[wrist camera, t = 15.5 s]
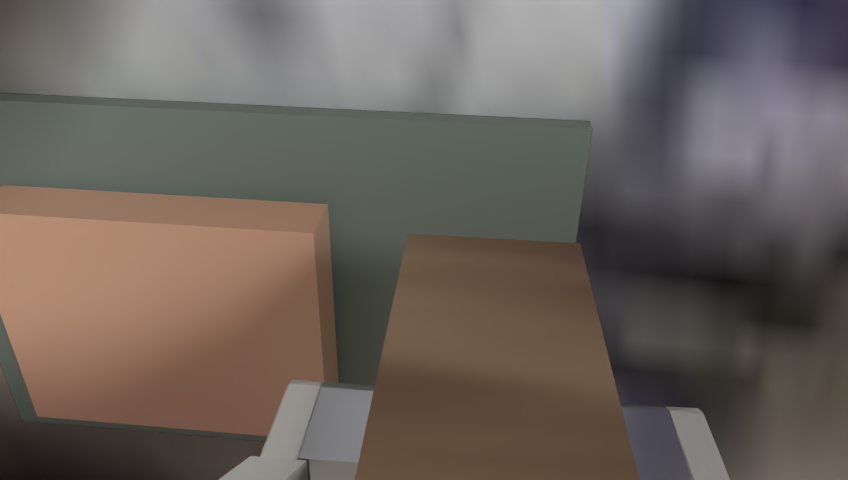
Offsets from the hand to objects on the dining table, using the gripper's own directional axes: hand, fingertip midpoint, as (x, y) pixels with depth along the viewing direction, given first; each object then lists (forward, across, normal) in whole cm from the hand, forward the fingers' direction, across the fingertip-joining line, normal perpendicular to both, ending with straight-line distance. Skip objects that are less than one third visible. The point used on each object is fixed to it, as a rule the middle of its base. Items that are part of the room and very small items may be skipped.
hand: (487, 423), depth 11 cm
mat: (+9, +7, +4) cm, 12 cm away
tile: (+7, +4, +4) cm, 9 cm away
